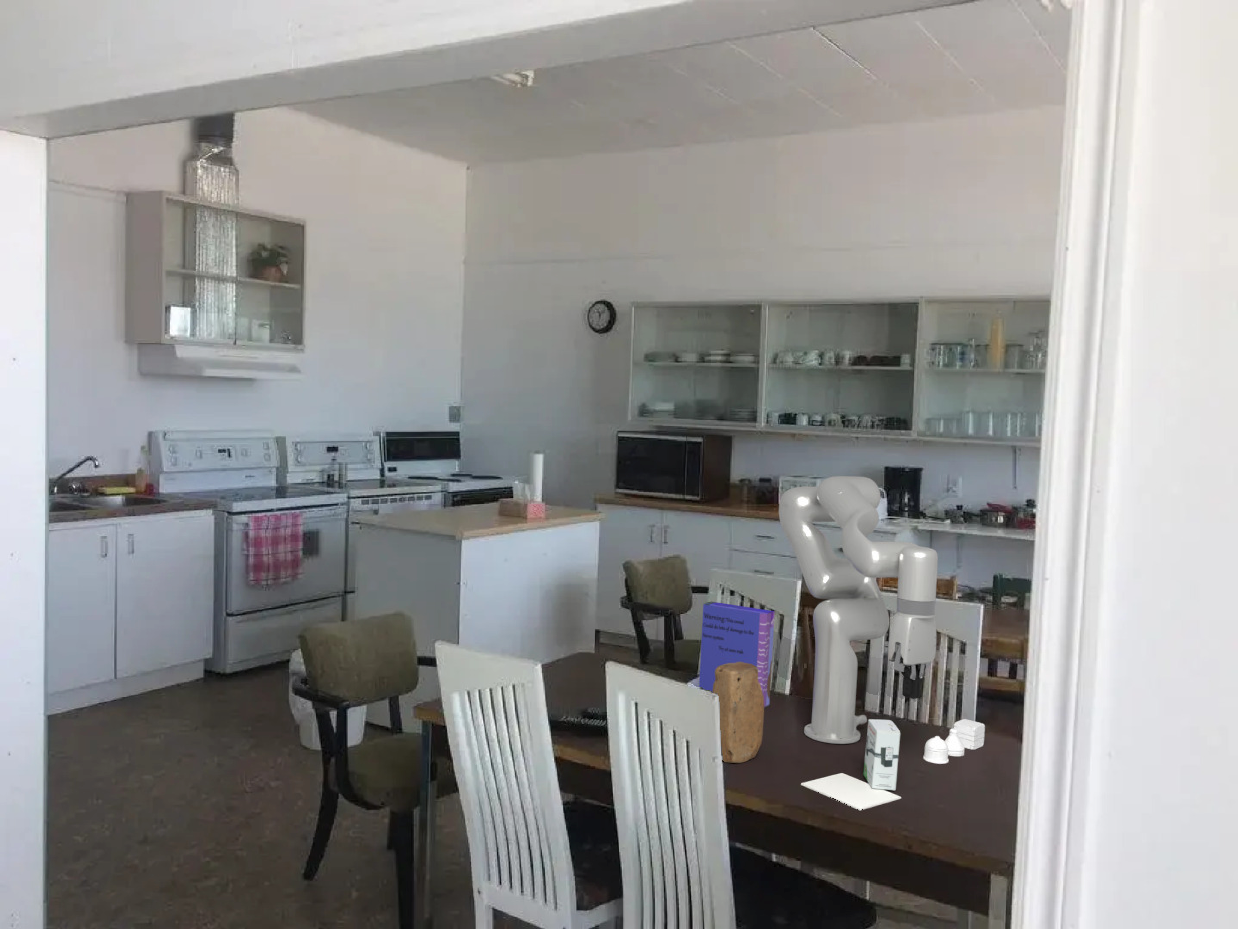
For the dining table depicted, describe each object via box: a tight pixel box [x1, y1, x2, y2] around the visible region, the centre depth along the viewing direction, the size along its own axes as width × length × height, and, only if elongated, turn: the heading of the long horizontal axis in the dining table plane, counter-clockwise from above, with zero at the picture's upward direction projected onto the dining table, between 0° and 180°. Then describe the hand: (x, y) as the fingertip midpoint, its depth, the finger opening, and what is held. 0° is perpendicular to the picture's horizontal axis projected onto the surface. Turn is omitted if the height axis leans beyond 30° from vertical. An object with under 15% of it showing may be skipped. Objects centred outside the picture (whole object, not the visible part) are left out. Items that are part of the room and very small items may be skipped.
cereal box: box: [698, 601, 775, 709], centre depth 265 cm, size 17×5×24 cm, turn 59°
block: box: [712, 662, 765, 764], centre depth 222 cm, size 11×8×20 cm
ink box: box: [862, 718, 901, 791], centre depth 211 cm, size 9×5×12 cm, turn 178°
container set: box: [922, 718, 986, 765], centre depth 233 cm, size 20×5×6 cm, turn 135°
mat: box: [800, 772, 902, 811], centre depth 206 cm, size 12×15×1 cm
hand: (911, 697), depth 214 cm, fingers closed
